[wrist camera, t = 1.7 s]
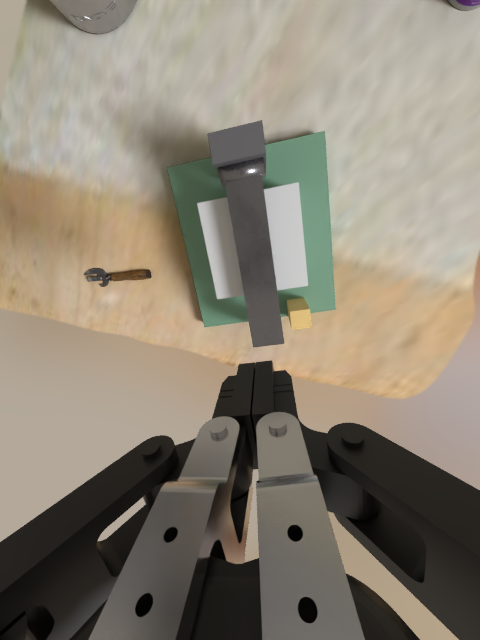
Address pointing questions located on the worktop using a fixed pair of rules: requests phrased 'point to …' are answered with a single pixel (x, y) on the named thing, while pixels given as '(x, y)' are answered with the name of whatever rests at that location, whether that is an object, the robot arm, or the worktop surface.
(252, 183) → the strap
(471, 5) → the container
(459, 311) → the worktop surface
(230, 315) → the cpu board
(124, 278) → the can opener
